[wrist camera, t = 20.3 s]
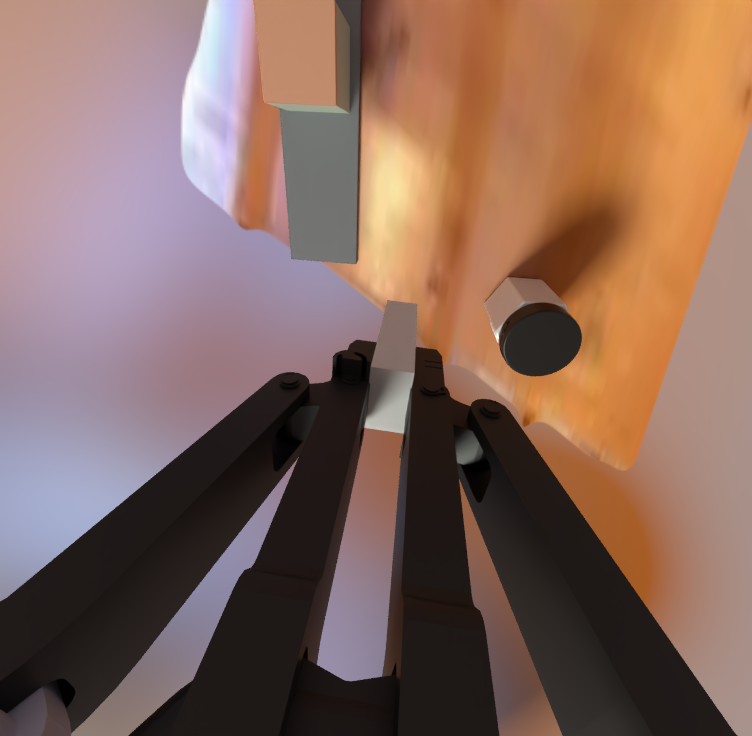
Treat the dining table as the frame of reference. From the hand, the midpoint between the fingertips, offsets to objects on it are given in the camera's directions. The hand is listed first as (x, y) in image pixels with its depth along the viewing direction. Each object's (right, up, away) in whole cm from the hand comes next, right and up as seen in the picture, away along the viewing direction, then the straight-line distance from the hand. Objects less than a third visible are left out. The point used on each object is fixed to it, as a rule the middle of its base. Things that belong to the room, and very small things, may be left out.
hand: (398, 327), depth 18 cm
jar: (+18, +7, +30) cm, 36 cm away
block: (-8, +26, +13) cm, 30 cm away
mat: (-8, +25, +22) cm, 34 cm away
